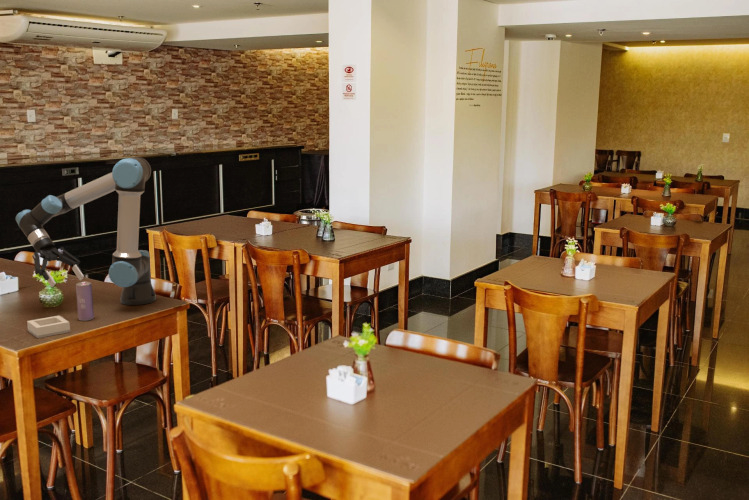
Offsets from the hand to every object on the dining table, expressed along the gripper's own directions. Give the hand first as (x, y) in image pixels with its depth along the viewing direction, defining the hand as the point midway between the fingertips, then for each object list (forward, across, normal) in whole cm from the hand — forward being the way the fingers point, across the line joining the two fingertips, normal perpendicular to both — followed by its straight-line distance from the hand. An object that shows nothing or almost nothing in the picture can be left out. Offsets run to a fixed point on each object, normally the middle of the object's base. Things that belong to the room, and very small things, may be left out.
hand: (68, 281), depth 301 cm
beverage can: (+17, -1, -4) cm, 17 cm away
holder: (+18, +18, -3) cm, 26 cm away
